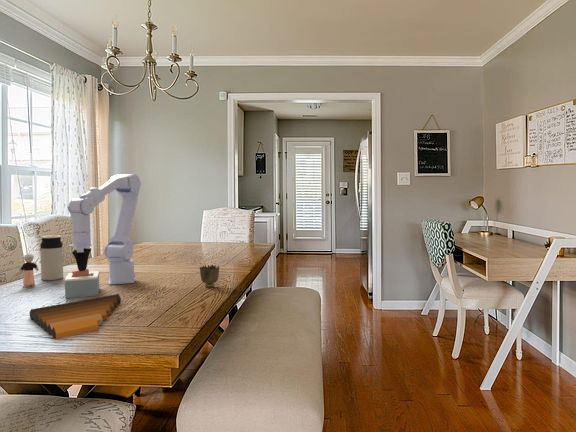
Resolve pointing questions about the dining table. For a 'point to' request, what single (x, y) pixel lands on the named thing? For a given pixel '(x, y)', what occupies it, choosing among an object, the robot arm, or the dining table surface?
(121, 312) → the dining table surface
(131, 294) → the dining table surface
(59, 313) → the pan flute
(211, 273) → the cup
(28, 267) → the grandmother figurine
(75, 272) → the pink rectangular block
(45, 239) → the travel mug
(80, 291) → the coin box
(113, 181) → the robot arm
